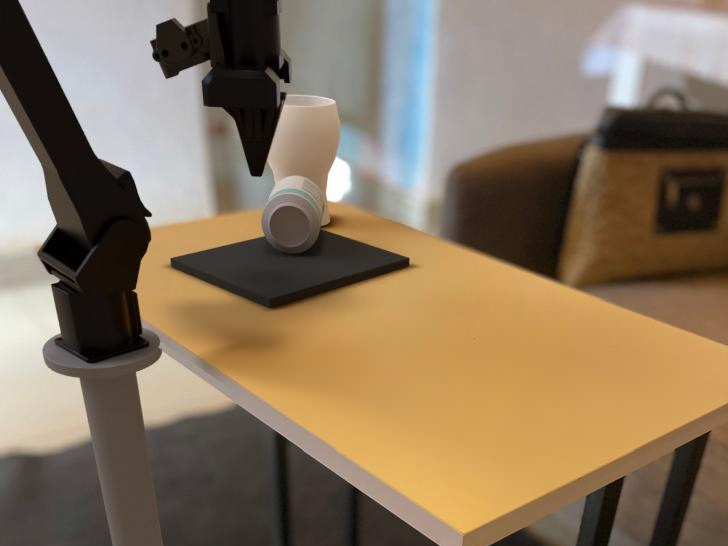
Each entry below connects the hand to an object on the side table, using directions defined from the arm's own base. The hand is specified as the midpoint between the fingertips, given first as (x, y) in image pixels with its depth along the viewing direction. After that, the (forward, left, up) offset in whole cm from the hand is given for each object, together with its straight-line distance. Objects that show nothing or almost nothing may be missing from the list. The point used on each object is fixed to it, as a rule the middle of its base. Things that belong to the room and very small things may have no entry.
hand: (256, 175), depth 82 cm
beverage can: (+11, +8, -8) cm, 16 cm away
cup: (+25, +22, -13) cm, 36 cm away
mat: (+11, +8, -13) cm, 19 cm away
